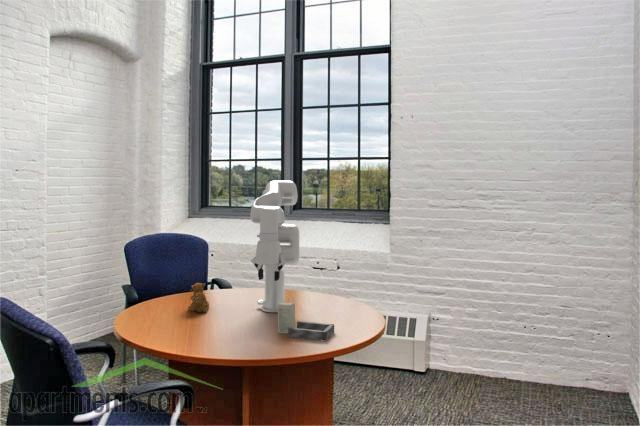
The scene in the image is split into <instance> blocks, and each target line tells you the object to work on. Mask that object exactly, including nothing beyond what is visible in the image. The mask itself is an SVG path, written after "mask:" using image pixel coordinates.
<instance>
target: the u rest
mask: <svg viewBox="0 0 640 426" xmlns="http://www.w3.org/2000/svg"><path fill="white" fill-rule="evenodd" d="M334 334H335V324H332V323H326V322H314V321H304V320H297V321H296V327H295V328H290V327H289V328H288V334H287V337H288V338H293V337H295V338H294V339H302V338H305V339H304V340H311V339H315V340H314V341H321V340H323V341H322V342H327V341H328V340H329V338H331V336H332V335H334Z"/></svg>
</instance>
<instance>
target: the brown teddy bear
mask: <svg viewBox="0 0 640 426" xmlns="http://www.w3.org/2000/svg"><path fill="white" fill-rule="evenodd" d="M205 286H206V283H202V282H196V283H194V284H192V285H191V289H190V291H191V292H192V294H193V295H191V296H190V300H191V301H192V303H190V305H189V306H188V307H187V309H188V311H190V312H197V313H207V312H208V309H209V308H210V303H209V300H207V297H206V295H205V293H204V288H205Z"/></svg>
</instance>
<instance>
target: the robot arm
mask: <svg viewBox="0 0 640 426" xmlns="http://www.w3.org/2000/svg"><path fill="white" fill-rule="evenodd" d="M298 197H299V195H298V188H297V184H296V183H295V182H294V181H292V180H271V181H269V182H267V184H266V186H265V189H264V190H263V191H262V195H261V196H259V197H257V198H255V199H254V201H253V202H252V204H251V209H250V220H251V222H252V223H254V224H259V233H257V234H256V237H257V238H259V239H258V240H257V243H256V250H255V256H254V257H253V258H252V259H251V260H250V262H251V263H252V265H254V267H255V268H256V270H257V277H258V280H259V281H260V280H263V279H264V299H263V300H262V299H258V300H257V305H260V306H261V305H262V306H261V310H262V311H263V312H265V313H278V304H279V303H281V302H285V272H284V270H283V268H284V267H285V266H293V265H294V266H295V265H297V264H298V263H299V261H300V230H299V229H300V228H299V227H298V226H297V225H296V224H293V223H292V224H289V223H285V212H284V210H283V208H282V207H281V206H294V205H296V203H297V202H298ZM285 244H288V245H285ZM263 268H264V269H263Z"/></svg>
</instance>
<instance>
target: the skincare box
mask: <svg viewBox="0 0 640 426" xmlns="http://www.w3.org/2000/svg"><path fill="white" fill-rule="evenodd" d="M295 305H296V304H295V302H285V301H284V302H281V303H279V304H278V312H277V332H278V333H279V334H287V335H288V328H289V327H290V328H296V314H295V313H296V310H295V309H296V306H295Z"/></svg>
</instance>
